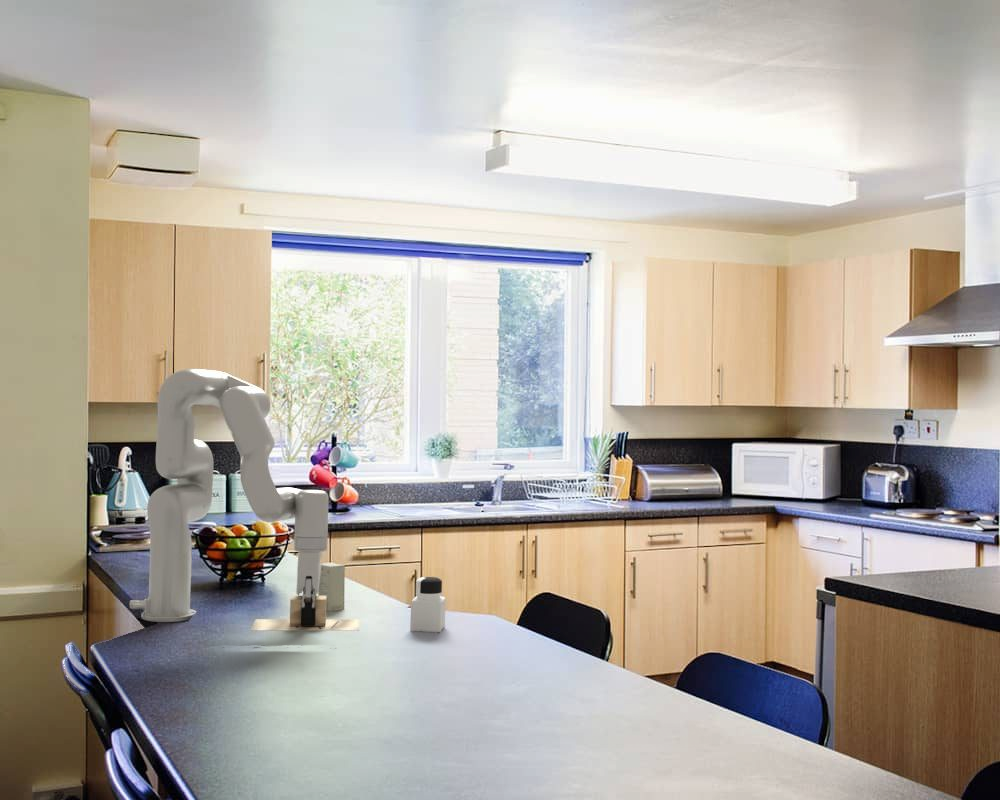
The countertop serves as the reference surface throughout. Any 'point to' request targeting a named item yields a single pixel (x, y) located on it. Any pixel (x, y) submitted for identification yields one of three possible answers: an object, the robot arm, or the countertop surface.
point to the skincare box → (332, 585)
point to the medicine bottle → (428, 606)
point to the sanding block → (319, 605)
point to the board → (285, 625)
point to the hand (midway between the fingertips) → (308, 622)
